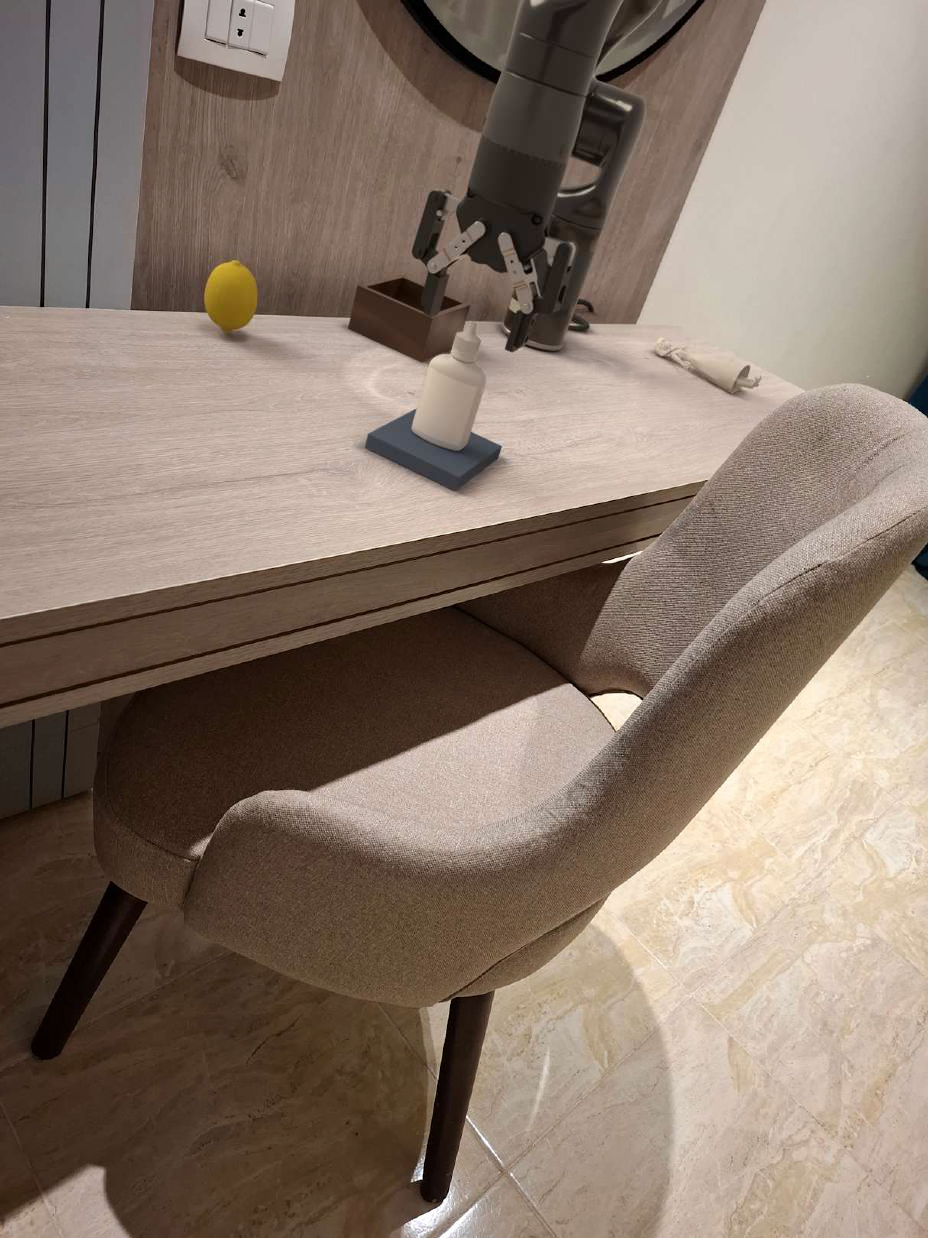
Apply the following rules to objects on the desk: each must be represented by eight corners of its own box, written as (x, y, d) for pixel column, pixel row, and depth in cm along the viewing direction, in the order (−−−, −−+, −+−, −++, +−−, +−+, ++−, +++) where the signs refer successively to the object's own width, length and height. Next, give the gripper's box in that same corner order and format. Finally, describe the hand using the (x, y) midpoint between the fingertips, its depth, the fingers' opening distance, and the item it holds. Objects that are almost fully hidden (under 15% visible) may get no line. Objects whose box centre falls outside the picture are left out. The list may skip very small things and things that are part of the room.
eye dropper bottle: (439, 455, 87) (475, 334, 80) (404, 427, 90) (436, 309, 83) (471, 451, 90) (509, 335, 83) (436, 424, 92) (470, 310, 86)
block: (414, 419, 96) (418, 406, 95) (497, 458, 94) (502, 445, 93) (364, 447, 87) (368, 433, 86) (455, 491, 85) (459, 477, 84)
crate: (390, 314, 122) (400, 274, 119) (458, 345, 120) (470, 304, 117) (347, 328, 113) (357, 284, 110) (420, 361, 111) (432, 318, 108)
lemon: (192, 331, 98) (201, 256, 93) (212, 318, 102) (221, 246, 98) (241, 348, 98) (252, 274, 93) (258, 334, 102) (270, 263, 98)
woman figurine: (750, 375, 134) (644, 333, 141) (738, 403, 136) (634, 360, 143) (774, 366, 142) (673, 327, 149) (762, 393, 145) (664, 353, 152)
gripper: (616, 172, 76) (552, 354, 85) (469, 114, 79) (421, 297, 88) (591, 174, 70) (524, 370, 79) (432, 112, 73) (385, 308, 82)
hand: (470, 331), depth 83 cm, fingers open, 8 cm apart
